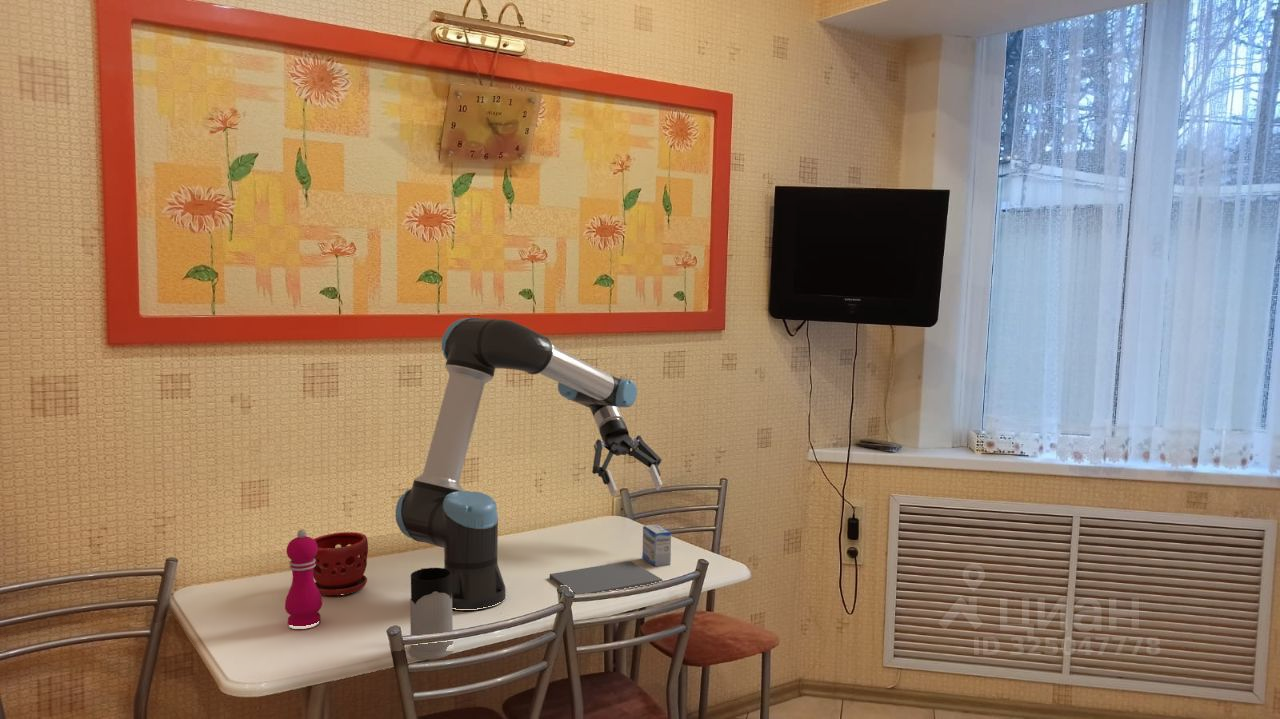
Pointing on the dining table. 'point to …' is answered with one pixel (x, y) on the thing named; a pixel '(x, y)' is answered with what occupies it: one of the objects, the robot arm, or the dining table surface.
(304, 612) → the pepper mill
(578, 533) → the dining table surface
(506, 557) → the dining table surface
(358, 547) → the plant pot
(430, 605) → the glass holder
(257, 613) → the dining table surface
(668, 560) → the medicine box
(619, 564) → the rubber mat
